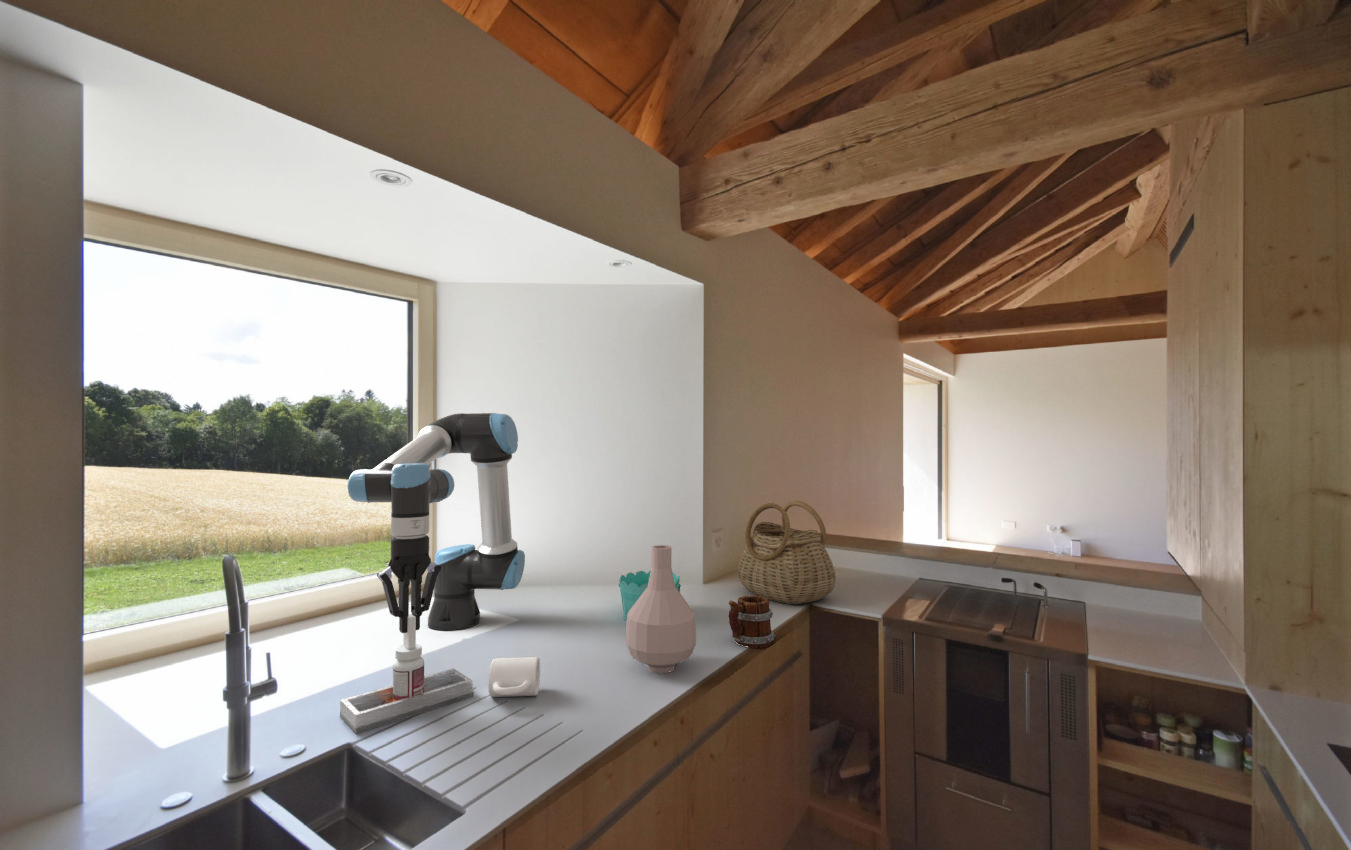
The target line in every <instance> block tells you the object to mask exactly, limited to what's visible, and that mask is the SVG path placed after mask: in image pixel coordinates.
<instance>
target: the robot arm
mask: <svg viewBox="0 0 1351 850" xmlns="http://www.w3.org/2000/svg"><path fill="white" fill-rule="evenodd" d="M518 442H519V435H518V429H517V426H516V423H515V421H514V420H513V418H512V417H511V416H510V415H509V414H505V413H496V412H487V413H486V412H484V413H483V412H481V413H478V412H477V413H474V412H473V413H464V412H463V413H459V412H458V413H454V414H449V415H447V416H444V417H441V418H439V419H437V420H435V421H432V422H431V423H429V424H428V425H426V426H425V427H423V428H422V429H421V430H420V431H419V432H418V435H417V437H415V438H413V439H412V441H409V442H408V443H407V444H405V445H404V446H403V447H402V448H399V449H398V450H397V451H395V452H394V453H393V454H392V455H390V456H389V457H387V459H384V460H383V461H382V462H380V463H379V464H378V465H377V466H375V467H374V468H372V469H367V468H363V469H355V470H354V471H353V472H352V473H351V474H350V476H349V477H348V480H347V491H348V496H349V497H350V499H351V501H354V502H359V503H368V504H370V503H390V504H391V512H390V513H391V519H390V520H391V521H390V535H391V536H392V537H391V539H390V559H389V562H388V567H387V568H385V569H383V571H378V572H377V573H376V576H377V577H378V579H379V580H380V582H381V584H382V586H383V591H384V595H385V598H386V603H387V607H388V610H389V614H390V615H392V616H394V617H395V618H398V619H399V621H398V623H399V624H398V625H399V628H398V629H399V632H400V633H401V634H403V645H404V647H406V648H408V649H411V648H415V647H416V644H417V641H416V639H417V637H416V636H417V633H416V631H419V630H420V628H421V616H422V615H423V613H424V612H428V611H429V614H428V617H427V627H428V628H430V629H431V630H437V631H455V630H463V629H467V628H470V627H474V626H476V625H478V623H480V622H481V612H480V607H479V605H478V602H477V599H476V594H475V593H476V592H475V590H500V591H504V590H514V589H516V588H517V587H518V586H519V584H520V583H521V580H522V577H523V574H524V569H525V563H526V554H525V552H524V550H521V549H518V542H517V541H516V540H514V539H513V538H512V537H513V536H512V524H511V523H512V521H511V506H510V505H511V504H510V503H511V502H510V489H509V475H508V473H509V472H508V463H509V462H510V461H511V460H512V458H513V454H515V453H516V452H517V450H518V447H519V445H518V444H519V443H518ZM448 454H449V455H450V454H470V461H471V462H472V463H473V464H474V465H475V466H476V472H477V486H478V487H477V488H478V497H479V498H478V499H479V512H480V513H479V514H480V515H479V516H480V527H481V541H482V542H481V543H480V544H479V545H478V546H477V549H476V546H475V544H473V543H467V544H466V543H465V544H459V545H453V546H449V547H445V548H442V549H440V550H438V551H437V552H435V554H434V562H432V559H431V557H430V554H429V553H430V536H429V535H427V534H429V533H430V504H434V503H439V502H441V501H443V500H446V499H447V498H449V497H450V496H451V495H452V493H453V492H454V490H455V481H454V480H455V479H454V478H453V476H452V474H451V473H450V472H448V471H447V470H445V469H440V468H432V469H430V466H429V465H430V464H431V463H432V462H434V461H435V460H436V459H441V458H443V457H445V456H446V455H448ZM426 571H427V574H426V576H425V579H424V580H425V581H424V584H423V585H424V586H423V590H422V582H423V576H424V574H425V572H426ZM392 573H393V575H394V576H395V577H396V578H397V585H398V599H397V596H396V593H395V588H394V584H393V581H392V577H393V575H392ZM409 591H410V592H409ZM433 593H434V596H433ZM432 597H433V598H432ZM432 599H433V601H432ZM431 602H432V603H431ZM409 608H410V609H409ZM409 610H410V613H409Z"/></svg>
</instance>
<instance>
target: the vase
mask: <svg viewBox="0 0 1351 850" xmlns="http://www.w3.org/2000/svg"><path fill="white" fill-rule="evenodd" d="M650 571H651V573H650V577H649V582H648V587H647V588H646V590H645V591H644V592H643V593H642V595H641V596H640V597H639V599H638V600H637V601H636V603H635V604H634V605H633V607H632V608H631V609H630V611H629V612H628V614H627V621H626V626H625V627H626V628H625V629H626V632H625V643H626V646H627V649H628V651H629V654H630V656H631V657H632V659H633V660H636V662H637V661H638V662H639V663H642V664H644V665H647V669H648V671H650V672H651V673H655V674H667V673H670V672H669V671H671V672H672V671H674V670H673V669H675V666H676V665H677V664H680V663H682V662H684V661H687V660H688V659H690V657H691V656H692V655H693V652H694V649H695V647H696V645H697V627H696V625H697V623H696V613H695V611H694V610H693V608H691V606H690V604H689V603H688V602H687V601H686V599H685V598H684V596H683V594H681V592H679V591H678V590H677V588H676V587H675V583H674V577H673V573H674V572H673V567H672V546H671V545H667V544H666V545H665V544H658V545H657V544H656V545H652V546H651V568H650Z"/></svg>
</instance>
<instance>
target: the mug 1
mask: <svg viewBox="0 0 1351 850" xmlns="http://www.w3.org/2000/svg"><path fill="white" fill-rule="evenodd" d="M540 661H541V660H540V657H538V656H532V657H531V656H530V657H524V656H523V657H499V658H497V657H496V658H493V659H492V661H491V663H490V667H489V674H488V694H489V696H490V697H491V698H505V697H506V698H507V697H533V696H538V693H539V689H540V681H541V679H540V678H541V662H540Z"/></svg>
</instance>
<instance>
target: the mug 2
mask: <svg viewBox="0 0 1351 850" xmlns="http://www.w3.org/2000/svg"><path fill="white" fill-rule="evenodd" d="M728 604H729V606H730V610H729V611H728V623H729V626H730V630H731V632H732V633H731V635H732V636H731V637H732V638H733V639H734V640H735V641H736V642H737V643H738V644H741V645H743V646H748V647H749V648H748V649H758V648H759V649H762V648H767V647H770V646H771V645H772V644H773V641H774V640H775V637H776V635H775V632H774V631H773V630H772V626H771V619H772V617H773V615H774V612H773V611H772V609H771V608H770V600H769V599H767V598H765V597H761V596H758V595H743V596H740V597H738V599H737V602H736V601H734V600H729V601H728ZM735 641H734V642H735ZM736 642H735V643H736ZM738 644H737V645H738ZM741 645H740V646H741ZM743 646H742V647H743Z"/></svg>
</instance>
